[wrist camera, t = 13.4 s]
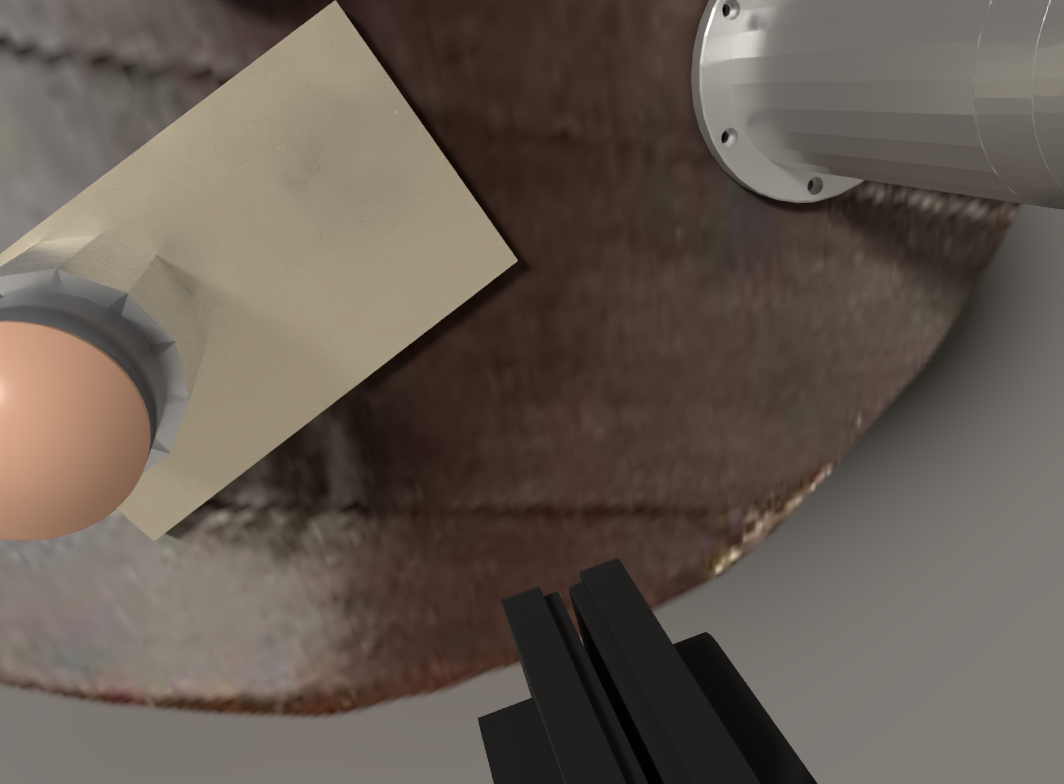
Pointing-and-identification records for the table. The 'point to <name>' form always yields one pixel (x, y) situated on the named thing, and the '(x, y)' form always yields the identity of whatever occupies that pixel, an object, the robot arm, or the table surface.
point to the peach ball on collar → (71, 413)
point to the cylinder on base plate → (267, 255)
